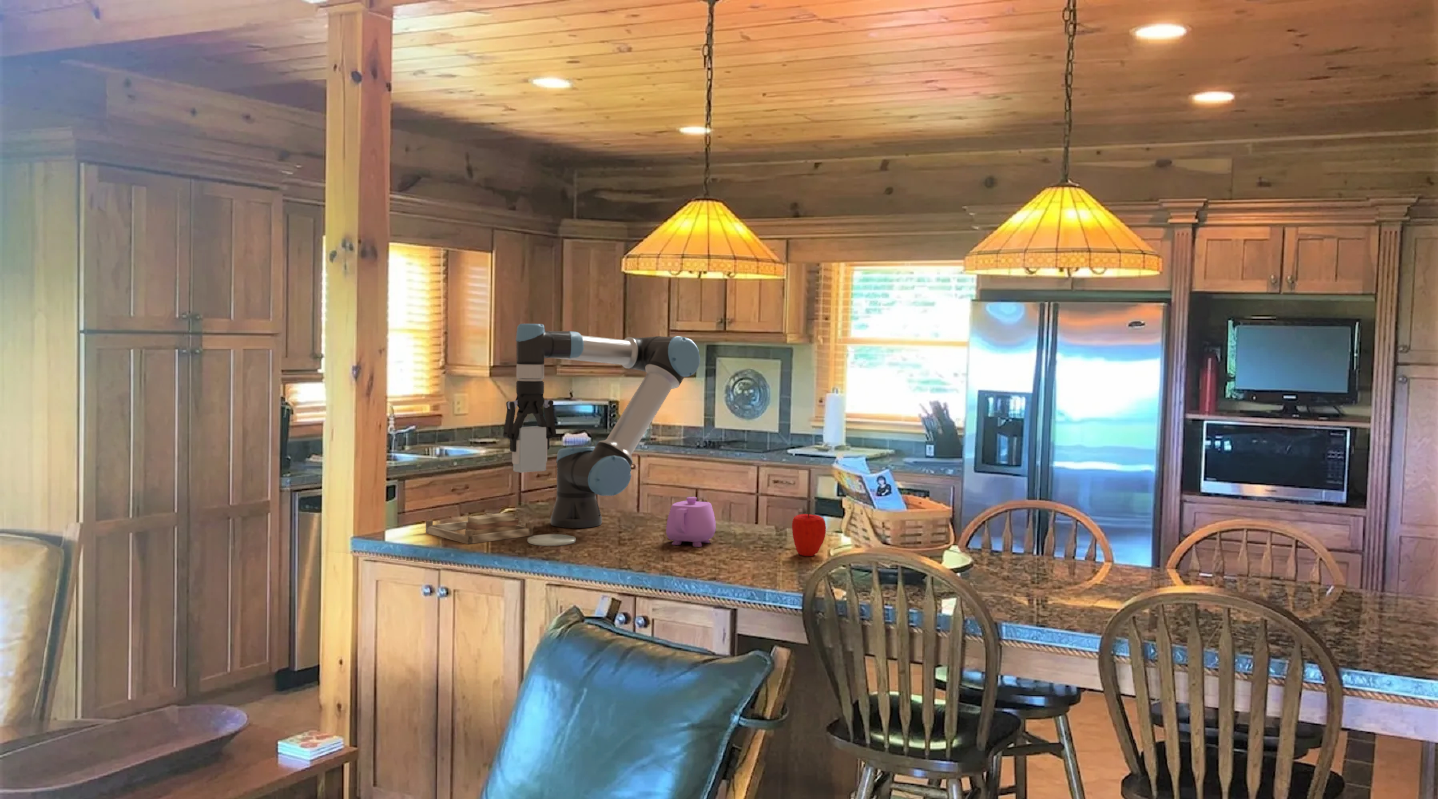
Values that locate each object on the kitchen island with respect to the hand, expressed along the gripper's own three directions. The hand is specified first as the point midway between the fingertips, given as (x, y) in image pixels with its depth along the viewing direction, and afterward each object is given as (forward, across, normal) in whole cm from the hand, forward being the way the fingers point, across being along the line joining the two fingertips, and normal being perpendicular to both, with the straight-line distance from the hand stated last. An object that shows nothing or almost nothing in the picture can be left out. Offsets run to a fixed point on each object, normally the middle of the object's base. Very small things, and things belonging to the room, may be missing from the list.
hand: (529, 462), depth 316 cm
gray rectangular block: (+2, 0, 0) cm, 2 cm away
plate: (+21, -3, +7) cm, 22 cm away
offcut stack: (+21, +7, -8) cm, 24 cm away
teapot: (+21, -33, +31) cm, 50 cm away
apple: (+21, -47, +62) cm, 80 cm away
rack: (+21, +7, -15) cm, 27 cm away
